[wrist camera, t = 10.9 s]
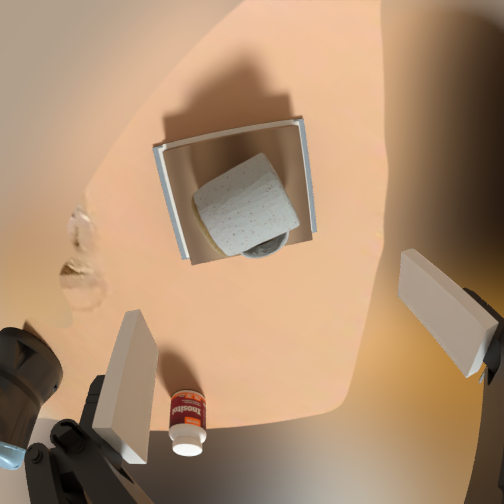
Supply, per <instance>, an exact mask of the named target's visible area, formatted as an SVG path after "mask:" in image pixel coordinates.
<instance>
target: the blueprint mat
mask: <svg viewBox="0 0 504 504" xmlns="http://www.w3.org/2000/svg"><path fill="white" fill-rule="evenodd" d="M286 125H298V126H299V131H300V138H301V145H302V153H303V160H304V168H305V176H306V184H307V192H308V201H309V210H310V220H311V230H312V233H313V232H317V228H316V217H315V207H314V197H313V188H312V179H311V171H310V163H309V155H308V147H307V140H306V133H305V126H304V119H297V120H293V119H291V120H283V121H276V122H269V123H263V124H257V125H251V126H245V127H239V128H234V129H229V130H224V131H219V132H214V133H209V134H204V135H200V136H195V137H191V138H187V139H182V140H178V141H174V142H170V143H166V144H163V145H162V146H158V147H154V148H153V152H154V156H155V160H156V165H157V169H158V173H159V177H160V181H161V185H162V189H163V192H164V196H165V200H166V204H167V207H168V211H169V215H170V218H171V222H172V226H173V229H174V233H175V236H176V240H177V243H178V246H179V250H180V253H181V257H182V260H185V259H189V258H190V257H189V253H188V250H187V246H186V243H185V239H184V236H183V232H182V229H181V225H180V221H179V217H178V214H177V210H176V206H175V202H174V198H173V195H172V191H171V187H170V183H169V179H168V174H167V170H166V166H165V162H164V158H163V153H162V152H163V151H164V150H166V149H168V148H172V147H176V146H180V145H185V144H189V143H193V142H198V141H202V140H207V139H211V138H216V137H221V136H226V135H231V134H236V133H242V132H247V131H253V130H259V129H265V128H272V127H279V126H286Z"/></svg>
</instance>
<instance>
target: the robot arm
mask: <svg viewBox="0 0 504 504" xmlns="http://www.w3.org/2000/svg"><path fill="white" fill-rule="evenodd" d="M398 297H399V298H400V299H401V300H402V301H403V302H404V303H405V305H406V306H407V307H408V308H409V309H410V310H411V311H412V313H413V314H414V315H415V316H416V317H417V318H418V319H419V321H420V322H421V323H422V324H423V325H424V326H425V328H426V329H427V330H428V331H429V332H430V333H431V334H432V336H433V337H434V338H435V339H436V341H437V342H438V343H439V344H440V345H441V347H442V348H443V349H444V350H445V352H446V353H447V354H448V355H449V357H450V358H451V359H452V360H453V362H454V363H455V364H456V365H457V367H458V368H459V369H460V370H461V372H462V373H463V374H464V376H465V377H466V378H467V377H469V376H470V375H472V374H473V373H475V372H477V371H478V370H479V368H480V366H481V364H482V362H484V363H485V364H486V365H487V366H486V368H485V370H484V372H483V374H482V376H481V378H480V380H479V383H481V382H482V380H483V378H484V392H483V405H482V415H481V423H480V431H479V438H478V444H477V450H476V456H475V461H474V465H473V470H472V475H471V479H470V483H469V487H468V491H467V494H466V498H465V501H464V504H504V318H502V317H501V316H500V315H499V314H498V313H497V312H496V311H495V310H494V309H493V308H492V307H491V306H490V305H487V303H486V302H485V301H484V300H482V299H481V297H479V296H478V295H477V294H476V293H475V292H473V291H471V290H469V289H467V288H463V289H462V288H461V287H459V286H458V285H457V284H456V283H455V282H454V281H452V280H451V279H450V278H449V277H448V276H447V275H445V274H444V273H443V272H442V271H441V270H439V269H438V268H437V267H436V266H434V265H433V264H432V263H431V262H429V261H428V260H427V259H426V258H425V257H423V256H422V255H421V254H420V253H418V252H417V251H416V250H415V249H409V250H405V251H402V253H401V266H400V278H399V288H398ZM158 357H159V349H158V347H157V345H156V343H155V341H154V339H153V337H152V335H151V332H150V330H149V328H148V326H147V324H146V322H145V319H144V317H143V315H142V313H141V311H140V309H139V310H134V311H128V312H126V313H125V316H124V319H123V322H122V325H121V328H120V331H119V334H118V337H117V340H116V343H115V346H114V349H113V352H112V355H111V359H110V362H109V365H108V369H107V372H106V375H97V377H96V378H95V379H94V381H93V382H92V383H91V385H90V388H89V392H88V396H87V398H86V404H85V405H84V409H83V412H82V416H81V419H80V423H79V425H78V424H77V423H76V422H75V421H74V420H72V419H63V420H61V421H59V422H58V423H57V424H55V426H54V427H53V429H52V430H51V434H50V440H51V442H52V443H53V444H54V445H55V446H56V447H55V448H51V449H48V448H47V447H46V446H45V445H44V444H42V443H34V444H32V445H30V446H29V447H28V443H29V440H30V437H31V434H32V431H33V428H34V425H35V422H36V419H37V417H38V414H39V411H40V408H41V406H42V405H43V404H44V403H45V402H46V401H47V400H48V399H49V398H50V397H51V396H52V395H53V394H54V393H55V392H56V391H57V389H58V388H59V386H60V383H61V381H62V378H63V371H62V368H61V365H60V363H59V361H58V359H57V358H56V356H55V355H54V354H53V353H52V351H51V350H50V349H49V348H48V347H47V346H46V345H45V344H44V343H43V342H41V341H40V340H39V339H38V338H36V337H35V336H33V335H32V334H30V333H28V332H26V331H24V330H21V329H18V328H14V327H7V328H4V329H2V330H1V331H0V467H2V468H6V469H10V470H15V469H18V468H19V467H20V466H21V464H22V461H23V459H24V462H25V470H26V478H27V485H28V490H29V496H30V502H31V504H154V503H153V502H152V501H151V500H150V498H149V497H148V496H147V495H146V494H145V493H144V492H143V490H142V489H141V488H140V487H139V486H138V484H137V483H136V482H135V481H134V479H133V478H132V477H131V476H130V474H129V473H128V472H127V471H126V469H125V468H124V467H123V466H122V465H121V462H122V458H124V459H125V460H126V461H127V462H128V463H130V464H131V463H133V464H146V463H147V452H148V440H149V429H150V419H151V410H152V402H153V393H154V385H155V378H156V371H157V363H158ZM27 447H28V449H27Z"/></svg>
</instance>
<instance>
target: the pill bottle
mask: <svg viewBox="0 0 504 504" xmlns="http://www.w3.org/2000/svg"><path fill="white" fill-rule="evenodd" d="M169 436H170V438H171V439H172V440H173V451H174V452H176V453H177V454H180V455H184V456H195V455H198V454H200V453H201V452H202V442H204V440H205V439H206V402H205V398H204V397H203V396H202V395H201V394H200V393H198V392H195V391H192V390H182V391H179V392H176V393H175V394H174V395H173V396H172V399H171V409H170V423H169Z"/></svg>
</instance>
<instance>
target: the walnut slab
mask: <svg viewBox="0 0 504 504" xmlns="http://www.w3.org/2000/svg"><path fill="white" fill-rule="evenodd" d="M162 153H163V158H164V162H165V166H166V170H167V174H168V179H169V183H170V187H171V191H172V195H173V198H174V202H175V206H176V210H177V214H178V217H179V221H180V225H181V229H182V232H183V236H184V239H185V243H186V246H187V250H188V253H189V257H190V260H191V264H192V265H196V264H200V263H205V262H210V261H215V260H219V259H224V258H229V257H234V256H238V255H241V254H240V253H239V254H236V255H232V256H227V257H225V256H222V255H219V254H218V253H217V252H215V251H214V250H213V248H212V247H211V246H210V245H209V243H208V242H207V241H206V239H205V238H204V236H203V234H202V232H201V231H200V229H199V227H198V225H197V223H196V220H195V218H194V215H193V212H192V208H191V199H192V196H193V194H194V193H195V192H196V191H197V190H198V189H200V188H201V187H202V186H203V185H205V184H206V183H208V182H210V181H211V180H213V179H215V178H217V177H218V176H220V175H222V174H224V173H225V172H227V171H229V170H230V169H232V168H234V167H236V166H237V165H239V164H241V163H243V162H245V161H247V160H248V159H250V158H252V157H254V156H255V155H257V154H259V153H264V154H265V156H266V157H267V159H268V160H269V162H270V163H271V165H272V167H273V169H274V170H275V171H276V173H277V175H278V177H279V179H280V181H281V183H282V185H283V187H284V189H285V191H286V193H287V195H288V197H289V199H290V200H291V203H292V205H293V207H294V208H295V211H296V213H297V216H298V218H299V221H300V225H299V226H298V227H296V228H294V229H292V230H290V231H289V237H288V240H287V242H286V243H285V245H284V246H286V245H291V244H295V243H300V242H305V241H310V240H312V230H311V220H310V210H309V201H308V192H307V184H306V176H305V168H304V160H303V153H302V145H301V138H300V131H299V126H298V125H286V126H279V127H272V128H265V129H259V130H253V131H247V132H242V133H236V134H231V135H226V136H221V137H216V138H211V139H207V140H202V141H198V142H193V143H189V144H185V145H180V146H176V147H172V148H168V149H166V150H164V151H163V152H162ZM276 237H277V236H276ZM276 237H274V238H272V239H269V240H267V241H265V242H262V243H260V244H258V245H256V246H260V245H262V244H265V243H267V242H270V241H272V240H274V239H275V238H276ZM256 246H254V247H256Z"/></svg>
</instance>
